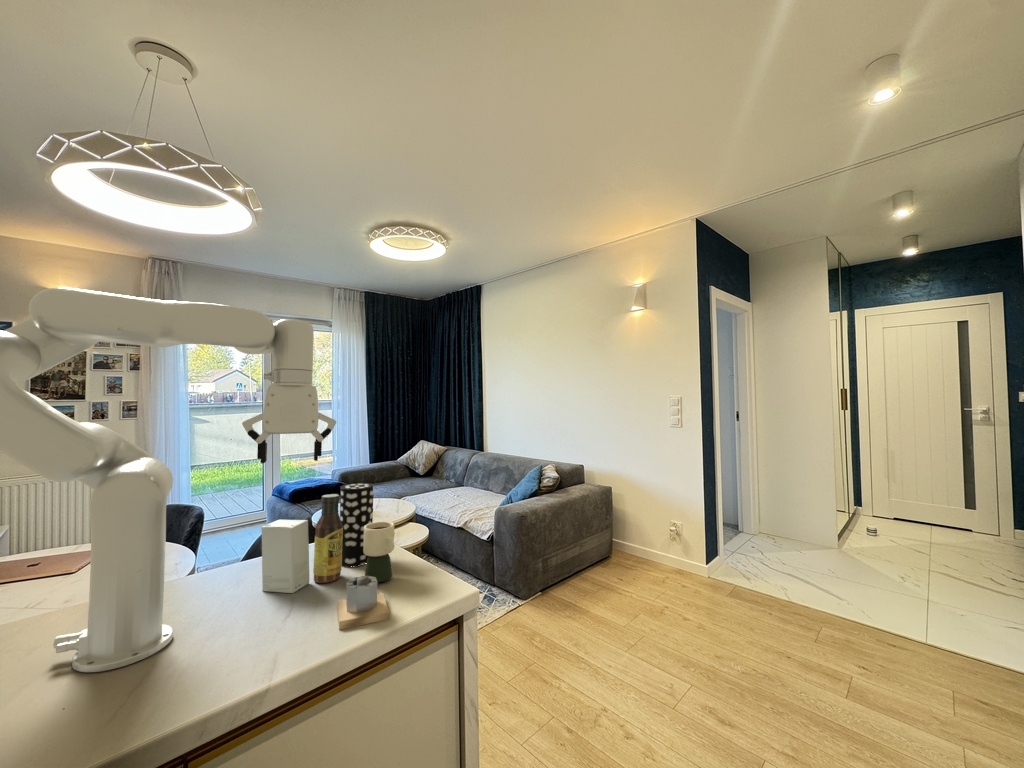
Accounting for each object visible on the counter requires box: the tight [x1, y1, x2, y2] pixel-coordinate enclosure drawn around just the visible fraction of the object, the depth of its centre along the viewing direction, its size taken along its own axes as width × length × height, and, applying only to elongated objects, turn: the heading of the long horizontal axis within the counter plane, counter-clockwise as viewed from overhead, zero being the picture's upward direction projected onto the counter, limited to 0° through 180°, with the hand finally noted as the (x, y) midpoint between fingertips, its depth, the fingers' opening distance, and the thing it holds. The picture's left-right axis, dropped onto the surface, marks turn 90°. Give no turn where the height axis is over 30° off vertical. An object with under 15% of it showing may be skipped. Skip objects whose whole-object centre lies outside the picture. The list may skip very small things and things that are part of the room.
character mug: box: [363, 521, 396, 583], centre depth 99 cm, size 11×7×13 cm, turn 51°
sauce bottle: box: [313, 493, 343, 584], centre depth 100 cm, size 7×6×20 cm
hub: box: [345, 576, 378, 614], centre depth 83 cm, size 6×6×5 cm
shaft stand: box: [336, 575, 390, 631], centre depth 83 cm, size 9×9×7 cm
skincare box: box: [261, 519, 310, 594], centre depth 95 cm, size 8×6×15 cm
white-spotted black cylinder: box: [339, 482, 374, 568], centre depth 111 cm, size 8×8×20 cm
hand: (290, 461), depth 86 cm, fingers open, 9 cm apart
